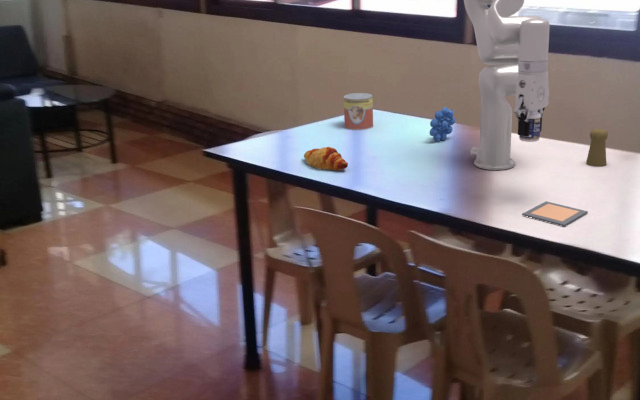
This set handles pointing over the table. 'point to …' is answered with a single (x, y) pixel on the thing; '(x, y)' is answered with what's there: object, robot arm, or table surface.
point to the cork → (597, 148)
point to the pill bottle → (532, 127)
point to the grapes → (442, 124)
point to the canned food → (358, 111)
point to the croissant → (325, 159)
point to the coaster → (555, 213)
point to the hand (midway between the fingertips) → (529, 132)
